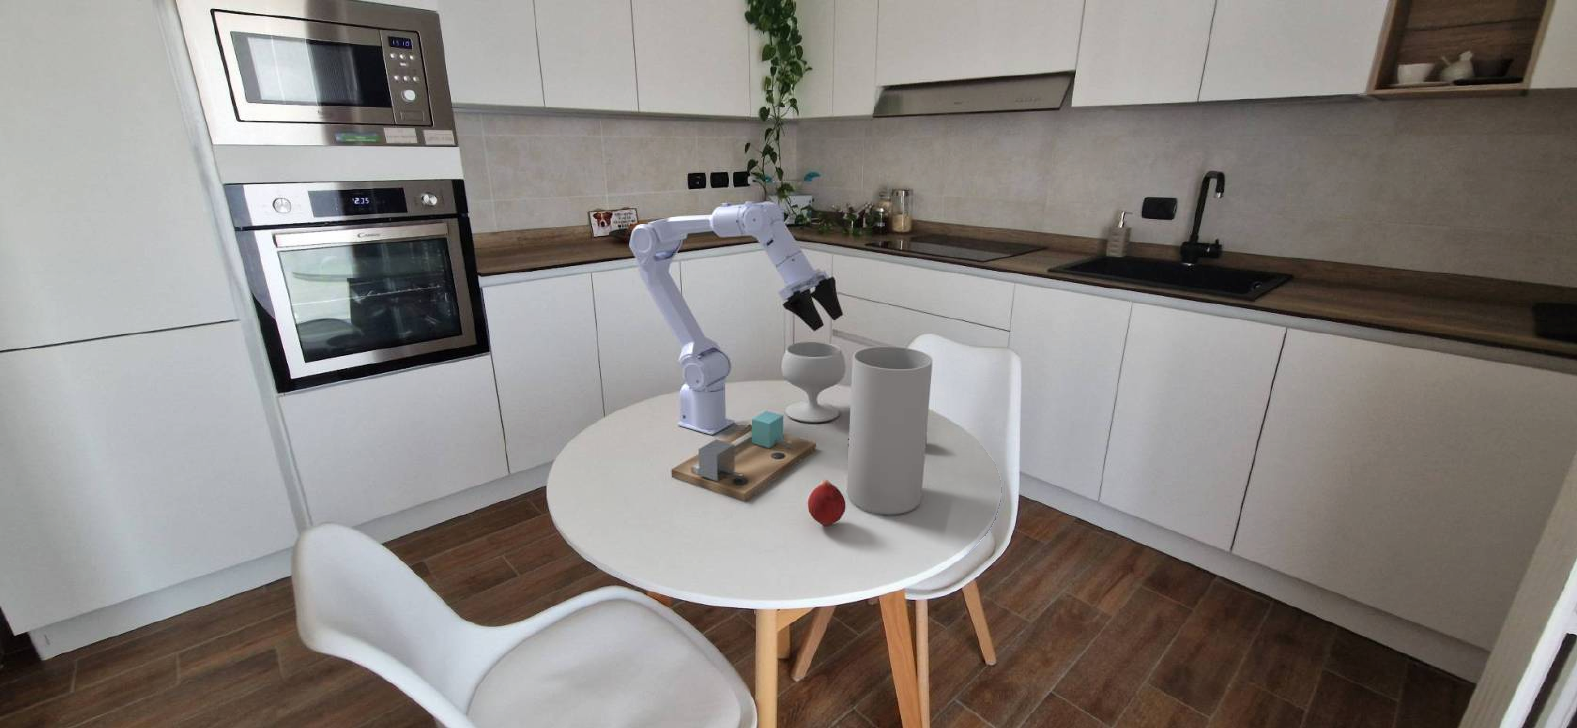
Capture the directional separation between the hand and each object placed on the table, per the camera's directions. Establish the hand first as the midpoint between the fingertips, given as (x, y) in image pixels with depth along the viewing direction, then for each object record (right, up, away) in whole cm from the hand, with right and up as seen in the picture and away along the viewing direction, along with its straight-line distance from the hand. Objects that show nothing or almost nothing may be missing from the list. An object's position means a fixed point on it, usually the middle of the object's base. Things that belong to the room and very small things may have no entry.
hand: (829, 323), depth 122 cm
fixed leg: (-19, -27, -5) cm, 33 cm away
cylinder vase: (+9, -30, -8) cm, 33 cm away
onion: (-2, -33, -17) cm, 37 cm away
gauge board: (-15, -26, +3) cm, 30 cm away
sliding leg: (-10, -23, +8) cm, 26 cm away
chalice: (-2, -19, +27) cm, 33 cm away
